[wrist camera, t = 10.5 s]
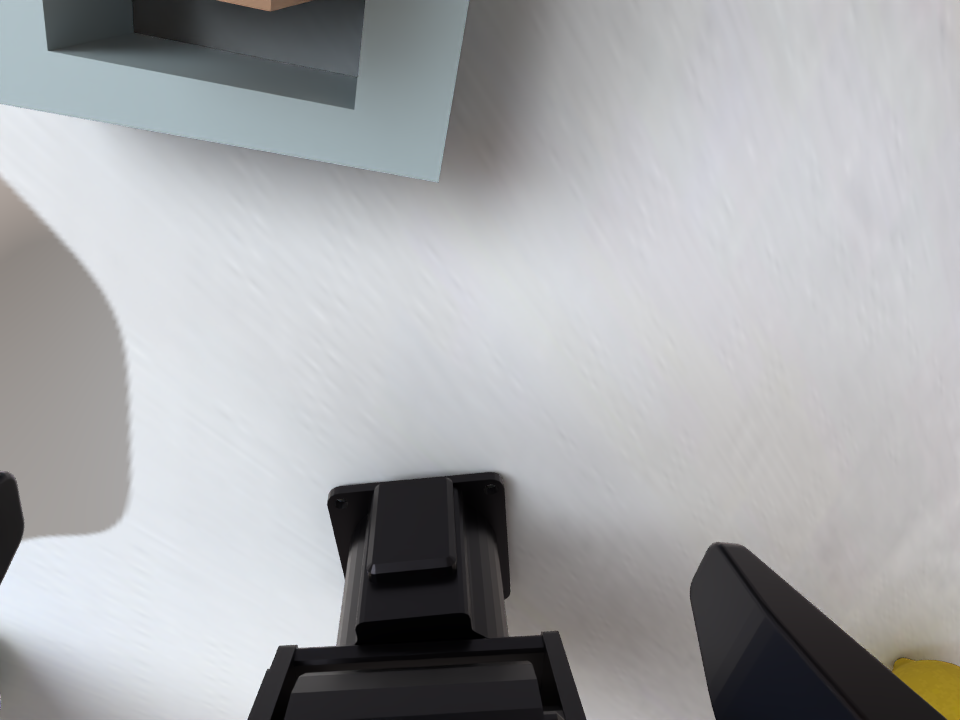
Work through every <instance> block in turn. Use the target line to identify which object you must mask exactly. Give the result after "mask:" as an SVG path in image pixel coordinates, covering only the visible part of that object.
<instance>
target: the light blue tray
mask: <svg viewBox="0 0 960 720" xmlns="http://www.w3.org/2000/svg"><path fill="white" fill-rule="evenodd" d="M468 5H469V0H365V10H364V20H363V29H362V39H361V49H360V59H359V69H358V77H353V76H348V75H343V74H338V73H333V72H328V71H323V70H318V69H313V68H308V67H303V66H298V65H293V64H288V63H283V62H278V61H273V60H268V59H263V58H258V57H253V56H248V55H243V54H238V53H233V52H228V51H223V50H218V49H213V48H208V47H203V46H198V45H193V44H188V43H183V42H178V41H173V40H169V39H164V38H159V37H154V36H149V35H144V34H139V33H134V27H133V6H132V0H0V104H4V105H9V106H15V107H20V108H26V109H32V110H37V111H43V112H48V113H54V114H59V115H65V116H70V117H76V118H82V119H87V120H93V121H98V122H104V123H109V124H115V125H121V126H126V127H132V128H137V129H143V130H148V131H154V132H160V133H165V134H171V135H176V136H182V137H187V138H193V139H198V140H204V141H210V142H215V143H221V144H226V145H232V146H237V147H243V148H249V149H254V150H260V151H265V152H271V153H276V154H282V155H287V156H293V157H299V158H304V159H310V160H315V161H321V162H326V163H332V164H338V165H343V166H349V167H354V168H360V169H365V170H371V171H377V172H382V173H388V174H393V175H399V176H404V177H410V178H415V179H421V180H427V181H432V182H438V183H439V177H440V171H441V165H442V159H443V153H444V147H445V141H446V135H447V129H448V123H449V118H450V112H451V106H452V100H453V94H454V88H455V82H456V76H457V70H458V64H459V58H460V52H461V47H462V41H463V35H464V29H465V23H466V17H467V11H468Z"/></svg>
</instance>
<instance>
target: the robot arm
mask: <svg viewBox="0 0 960 720" xmlns="http://www.w3.org/2000/svg"><path fill="white" fill-rule="evenodd" d="M490 484H492V485H495V486H494V487H492V488H487V487H486V486H487V485H490ZM337 499H345V500H346V501H345V502H340V501H338V500H337ZM327 506H328V510H329V514H330V518H331V522H332V527H333V531H334V535H335V539H336V544H337V548H338V552H339V556H340V560H341V565H342V569H343V573H344V577H345V586H344V593H343V600H342V608H341V615H340V622H339V630H338V637H337V645H336V646H328V647H309V648H298V646H297V645H286V646H279V647H278V649H277V652H276V655H275V657H274V660H273V662H272V665H271V667H270V669H267V671H266V674H265V676H264V679H263V681H262V684H261V686H260V689H259V691H258V694H257V697H256V699H255V702H254V704H253V707H252V709H251V712H250V714H249V717H248V720H586V717H585V713H584V710H583V707H582V704H581V701H580V698H579V695H578V691H577V688H576V685H575V682H574V679H573V676H572V673H571V669H570V666H569V663H568V660H567V657H566V654H565V650H564V647H563V644H562V641H561V638H560V635H559V632H558V631H550V632H541V635H534V636H515V637H509V636H508V628H507V620H506V612H505V603H504V599H506V598H507V597H508V596H509V595H510V575H509V559H508V542H507V526H506V509H505V492H504V483H503V479H502V477H501V476H500V475H499V474H497V473H494V472H486V473H476V474H465V475H454V476H444V477H433V478H422V479H412V480H401V481H390V482H380V483H369V484H358V485H348V486H339V487H335V488H334V489H332V490H331V491H330V493H329V496H328V502H327ZM23 532H24V517H23V512H22V507H21V502H20V496H19V491H18V485H17V481H16V478H15V477H14V476H13V475H12V474H11V473H9V472H6V471H0V585H1V583H2V581H3V578H4V576H5V574H6V572H7V570H8V568H9V566H10V564H11V561H12V559H13V557H14V555H15V553H16V551H17V549H18V547H19V545H20V542H21V540H22V536H23ZM690 600H691V606H692V611H693V616H694V621H695V626H696V631H697V636H698V641H699V646H700V651H701V656H702V661H703V666H704V671H705V676H706V681H707V686H708V691H709V695H710V700H711V704H712V708H713V711H714V715H715V718H716V720H947V719H946V718H945V717H944V716H943V715H942V714H940V713H939V712H938V711H937V710H936V709H935V708H933V707H932V706H931V705H930V704H929V703H928V702H926V701H925V700H924V699H923V698H922V697H921V696H919V695H918V694H917V693H916V692H915V691H913V690H912V689H911V688H910V687H909V686H908V685H906V684H905V683H904V682H903V681H902V680H901V679H899V678H898V677H897V676H896V675H895V674H894V673H892V672H891V671H890V670H889V669H888V668H887V667H885V666H884V665H883V664H882V663H881V662H879V661H878V660H877V659H876V658H875V657H874V656H872V655H871V654H870V653H869V652H868V651H867V650H865V649H864V648H863V647H862V646H861V645H860V644H858V643H857V642H856V641H855V640H854V639H853V638H851V637H850V636H849V635H848V634H847V633H845V632H844V631H843V630H842V629H841V628H840V627H838V626H837V625H836V624H835V623H834V622H833V621H831V620H830V619H829V618H828V617H827V616H826V615H824V614H823V613H822V612H821V611H820V610H819V609H817V608H816V607H815V606H814V605H813V604H811V603H810V602H809V601H808V600H807V599H806V598H804V597H803V596H802V595H801V594H800V593H799V592H797V591H796V590H795V589H794V588H793V587H792V586H790V585H789V584H788V583H787V582H786V581H785V580H783V579H782V578H781V577H780V576H779V575H777V574H776V573H775V572H774V571H773V570H772V569H770V568H769V567H768V566H767V565H766V564H765V563H763V562H762V561H761V560H760V559H759V558H758V557H756V556H755V555H754V554H753V553H752V552H751V551H749V550H748V549H747V548H746V547H744V546H742V545H739V544H733V543H723V542H716V543H713V544H712V545H710V546H709V548H708V549H707V551H706V553H705V555H704V557H703V559H702V561H701V563H700V566H699V568H698V570H697V572H696V574H695V576H694V578H693V580H692V582H691V587H690Z"/></svg>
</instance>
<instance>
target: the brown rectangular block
mask: <svg viewBox="0 0 960 720" xmlns="http://www.w3.org/2000/svg"><path fill="white" fill-rule="evenodd" d="M218 1H223V2H227V3H232V4H237V5H242V6H247V7H251V8H256V9H261V10H266V11H270V12H271V11H275V10H278V9H282V8H286V7H290V6H294V5H297V4H301V3H305V2H309V1H313V0H218Z"/></svg>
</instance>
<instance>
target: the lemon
mask: <svg viewBox="0 0 960 720" xmlns="http://www.w3.org/2000/svg"><path fill="white" fill-rule="evenodd" d="M892 673H894V674H895V675H896V676H897V677H898V678H899V679H901V680H902V681H903V682H904V683H905V684H906V685H908V686H909V687H910V688H911V689H912V690H913V691H915V692H916V693H917V694H918V695H919V696H921V697H922V698H923V699H924V700H925V701H926V702H928V703H929V704H930V705H931V706H932V707H933V708H935V709H936V710H937V711H938V712H939V713H940V714H942V715H943V716H944V717H945V718H946V719H947V720H960V666H957V665H954V664H952V663H947V662H943V661H937V660H919V661H914V660H911V659H907V658H900V659H898V660H897V661H895V663H894V667H893V670H892Z"/></svg>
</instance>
